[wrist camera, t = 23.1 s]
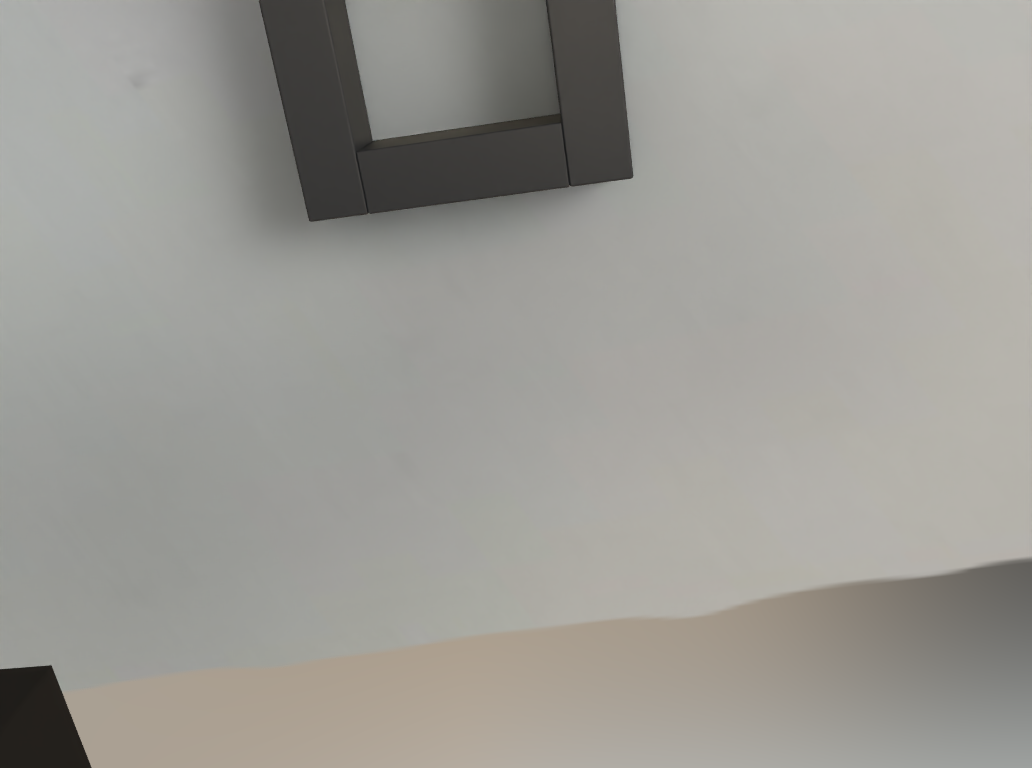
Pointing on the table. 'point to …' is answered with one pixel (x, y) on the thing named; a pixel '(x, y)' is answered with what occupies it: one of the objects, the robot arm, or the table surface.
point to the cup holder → (451, 153)
